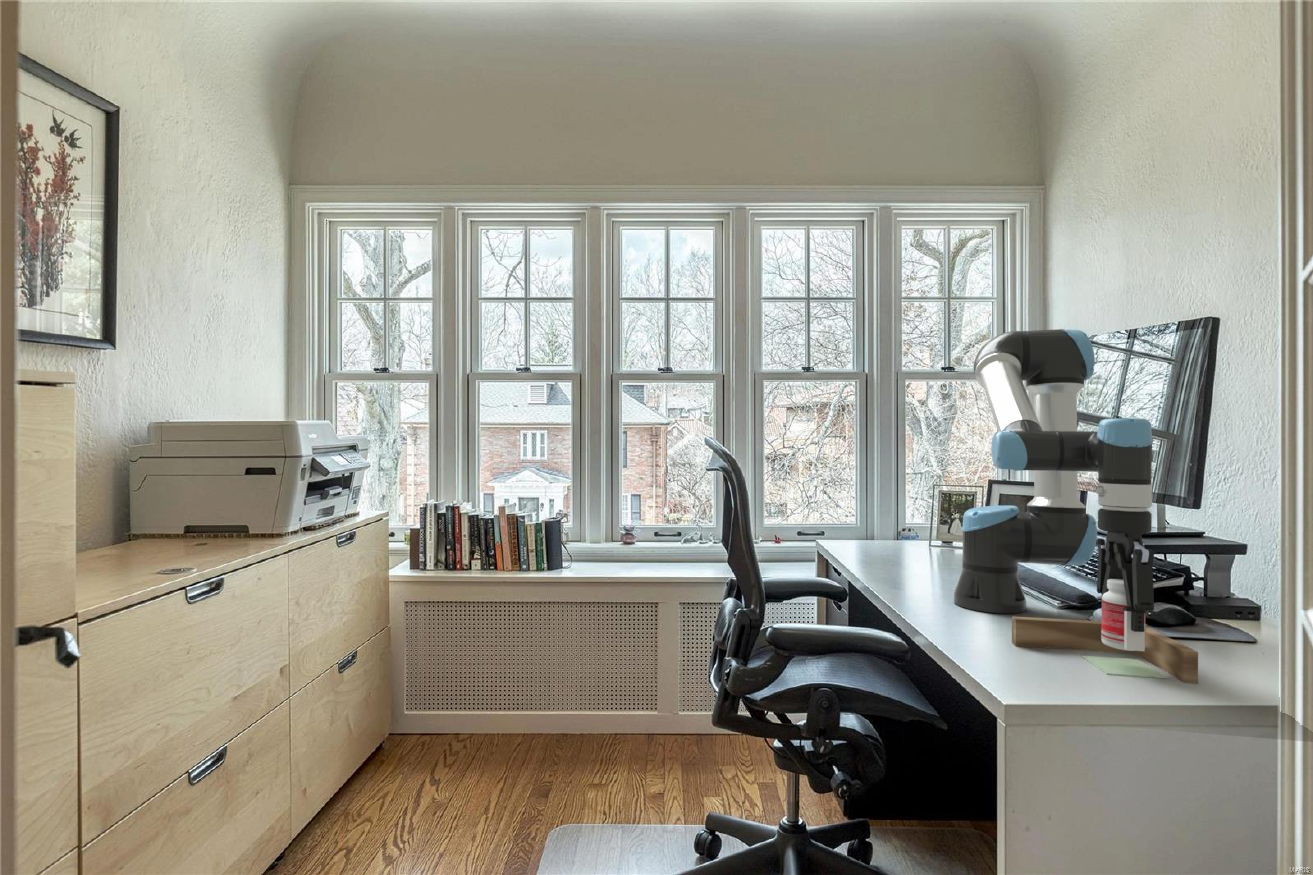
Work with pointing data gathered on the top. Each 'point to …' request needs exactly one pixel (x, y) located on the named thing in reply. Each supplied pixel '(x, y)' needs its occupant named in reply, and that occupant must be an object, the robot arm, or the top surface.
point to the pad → (1124, 667)
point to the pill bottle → (1114, 614)
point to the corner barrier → (1088, 637)
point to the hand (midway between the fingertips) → (1123, 643)
